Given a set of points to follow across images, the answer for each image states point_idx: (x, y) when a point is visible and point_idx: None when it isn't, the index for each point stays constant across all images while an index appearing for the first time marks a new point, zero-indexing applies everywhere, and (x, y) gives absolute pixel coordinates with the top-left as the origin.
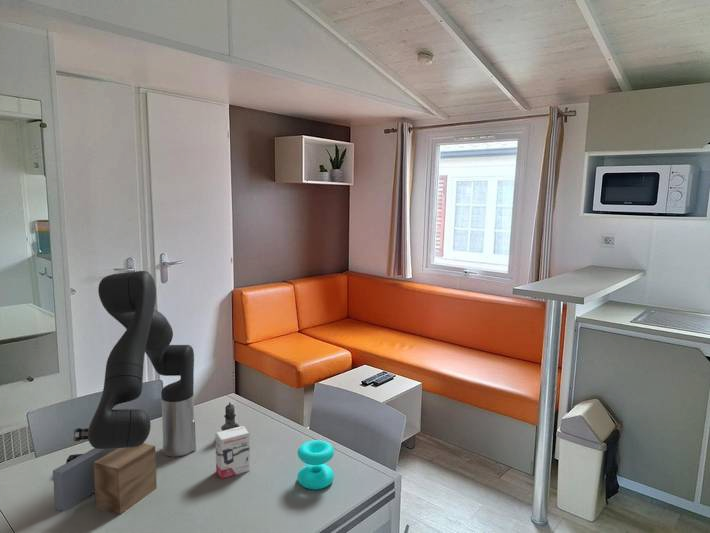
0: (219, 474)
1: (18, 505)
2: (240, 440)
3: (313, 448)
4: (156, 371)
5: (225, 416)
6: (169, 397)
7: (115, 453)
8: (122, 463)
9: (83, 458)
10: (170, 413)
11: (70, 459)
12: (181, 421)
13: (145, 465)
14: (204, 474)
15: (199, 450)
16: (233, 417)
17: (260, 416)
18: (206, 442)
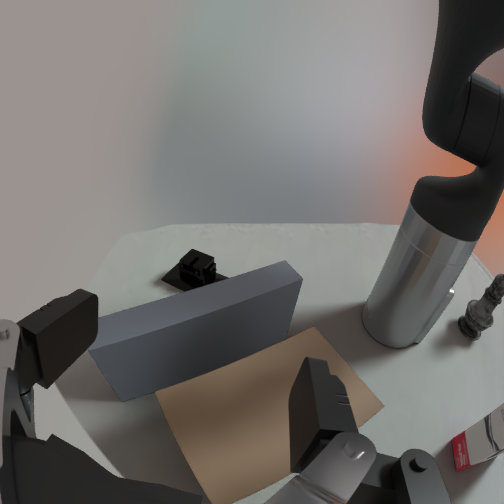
0: (458, 460)
1: None
2: None
3: None
4: (430, 122)
5: (488, 294)
6: (442, 216)
7: (242, 382)
8: (243, 479)
9: (165, 316)
10: (424, 258)
11: (186, 261)
12: (437, 288)
13: None
14: (431, 440)
15: (425, 344)
16: (499, 303)
17: None
18: (435, 324)
